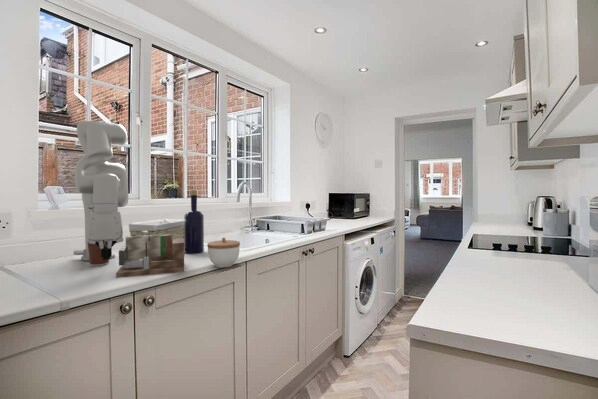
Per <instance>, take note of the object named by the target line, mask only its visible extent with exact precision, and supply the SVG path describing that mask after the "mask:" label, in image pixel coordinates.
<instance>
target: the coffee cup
mask: <svg viewBox="0 0 598 399" xmlns="http://www.w3.org/2000/svg"><path fill="white" fill-rule="evenodd" d="M85 241H86V242H87V243H88V251H89V260H90V261H89V266H90V267H99V266H107V265H109V261H110V259H108V260H107V259H105V260H103V257H101V249H100V247H99V246H97V245H96V244H90V243H89V238H87V239H86V240H85V239H84V242H85ZM104 241H105V246H106V247H107V246H108V240H104Z"/></svg>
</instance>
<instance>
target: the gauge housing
mask: <svg viewBox="0 0 598 399" xmlns="http://www.w3.org/2000/svg"><path fill="white" fill-rule="evenodd" d="M146 242H147V257H149V269H144V267H140V268H127V269H125V265H120V267H119V269H118V270H117V271H116V274H115V277H116V278H125V277H137V276H148V275H149V276H150V275H160V274H172V273H173V274H175V273H184V272H185V247H184V238H176V234H173V235H150V236H131V235H130V236H129V235H128V236H127V235H126V236H125V246H128V259H138V258H144V257H146Z"/></svg>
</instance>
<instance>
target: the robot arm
mask: <svg viewBox="0 0 598 399" xmlns="http://www.w3.org/2000/svg"><path fill="white" fill-rule="evenodd" d="M127 133H128V132H127V130H126V128H125V127H124V125H122V124H120V123H119V124H118V123H113V122H103V121H94V120H83V121H80V122H78V123H77V126H76V135H77V139H78V142H79V144H80V146H81V149H82V151H83V154H84V155H83V156H82V157H80V158H79V160H77V162H76V165H75V167H74V184H75V189H76V191H77V192H78V193H79V194H81V200H82V204H83V205H82V206H83V211H84V213H83V214H84V248H83V249H74V250H73V255H76V256H80V255H82V256H81V257H80V260H81V261H84V262H90V260H89V251H88V243H87V242H86V241H85V240H86V239H87V238H89V243H90V244H96V245H97V246H99V247H100V249H101V257H103V260H105V259H107V260H108V259H109V260H110V259H113V258H115V257H116V253H114V252H113V251H112V250H113V249H112V248H113V247H114V246H115V245H116V244H119V243H123V241H124V238H123V220H122V214H121V212H120V211H119V208H124V207H126V206H127V205H128V203H129V187H128V174H127V169H126V167H125V165H123V164H121V163H116V162H115V163H114V162H109V161H110V160H112V158H113V156H114V153H113V145H117V146H124V145H125V144H126V143H127V141H128V134H127ZM104 240H108V246H107V247H106V246H105V241H104Z"/></svg>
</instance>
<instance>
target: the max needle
mask: <svg viewBox="0 0 598 399" xmlns="http://www.w3.org/2000/svg"><path fill="white" fill-rule="evenodd" d="M144 269H149V257H147V242H146V257H144Z"/></svg>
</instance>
